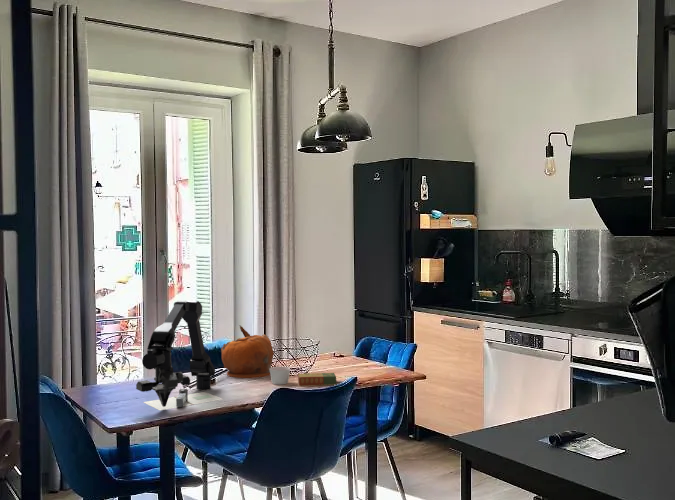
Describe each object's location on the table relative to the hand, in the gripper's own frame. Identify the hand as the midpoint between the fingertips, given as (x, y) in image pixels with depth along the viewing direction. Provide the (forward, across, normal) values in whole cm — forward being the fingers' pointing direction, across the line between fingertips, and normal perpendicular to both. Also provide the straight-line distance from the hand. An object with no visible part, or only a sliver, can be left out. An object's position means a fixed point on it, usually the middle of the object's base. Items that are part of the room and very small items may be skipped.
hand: (164, 406), depth 248 cm
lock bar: (+1, +8, +3) cm, 9 cm away
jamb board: (+2, +11, +7) cm, 13 cm away
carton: (+3, +71, +2) cm, 71 cm away
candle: (+2, +59, +13) cm, 60 cm away
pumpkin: (+2, +60, +40) cm, 72 cm away
